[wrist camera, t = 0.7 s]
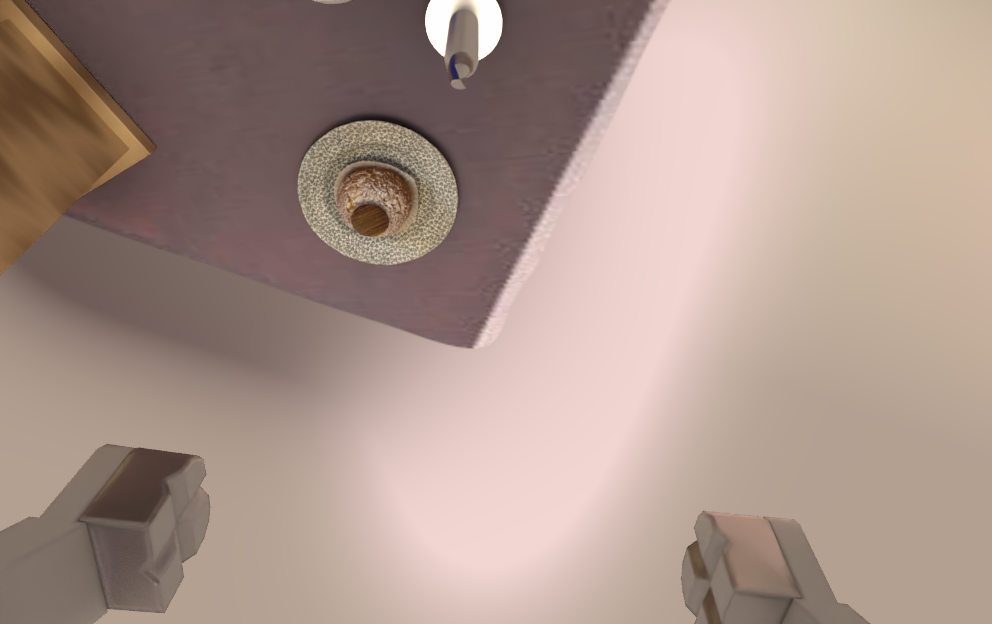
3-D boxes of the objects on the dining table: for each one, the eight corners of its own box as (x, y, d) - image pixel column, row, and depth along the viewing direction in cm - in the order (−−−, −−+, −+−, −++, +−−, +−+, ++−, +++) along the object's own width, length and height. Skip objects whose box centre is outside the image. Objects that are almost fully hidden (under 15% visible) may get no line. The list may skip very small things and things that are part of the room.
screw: (482, -39, 43) (512, 34, 45) (414, -5, 44) (447, 65, 46) (483, 11, 32) (522, 103, 35) (393, 54, 33) (438, 140, 36)
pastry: (324, 88, 47) (310, 112, 44) (483, 152, 50) (483, 180, 47) (284, 227, 54) (269, 258, 50) (427, 276, 57) (423, 309, 53)
